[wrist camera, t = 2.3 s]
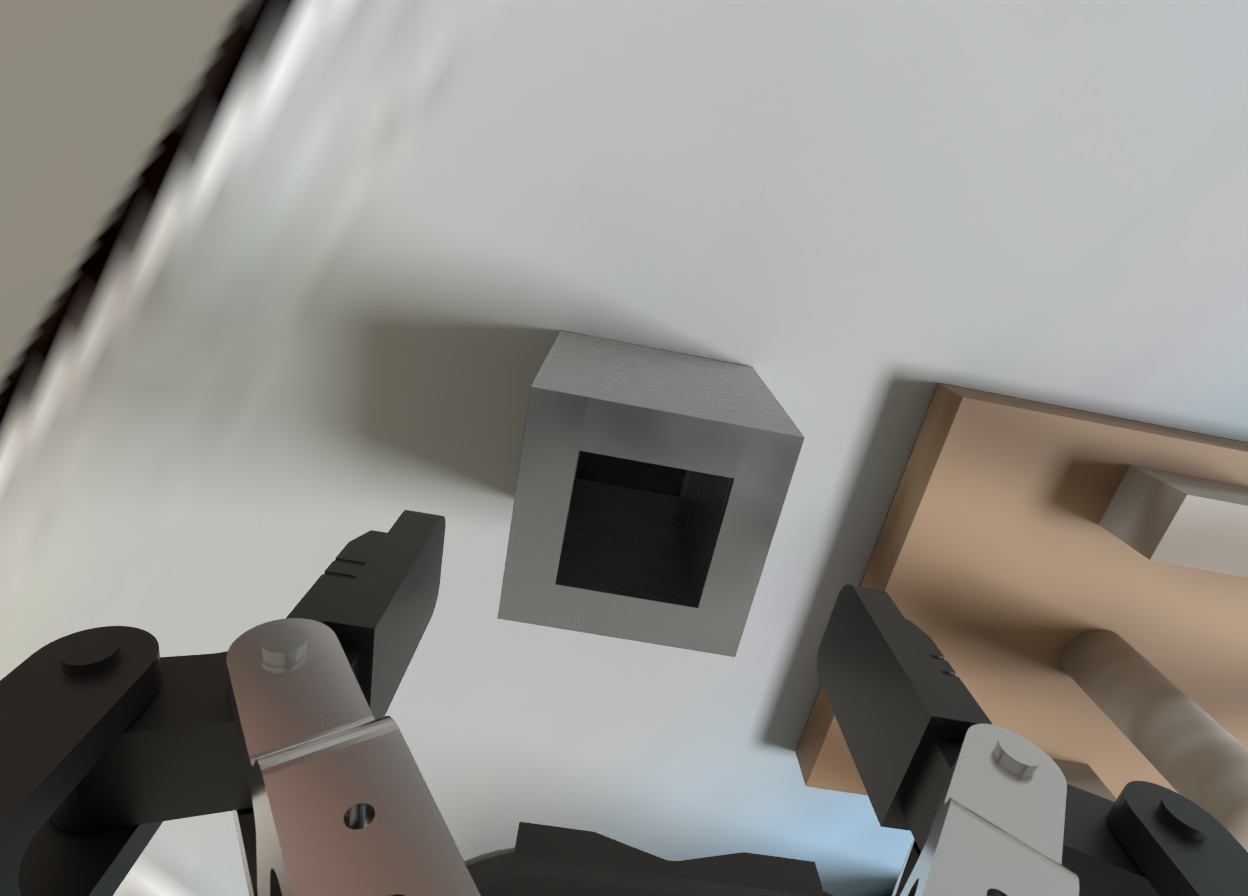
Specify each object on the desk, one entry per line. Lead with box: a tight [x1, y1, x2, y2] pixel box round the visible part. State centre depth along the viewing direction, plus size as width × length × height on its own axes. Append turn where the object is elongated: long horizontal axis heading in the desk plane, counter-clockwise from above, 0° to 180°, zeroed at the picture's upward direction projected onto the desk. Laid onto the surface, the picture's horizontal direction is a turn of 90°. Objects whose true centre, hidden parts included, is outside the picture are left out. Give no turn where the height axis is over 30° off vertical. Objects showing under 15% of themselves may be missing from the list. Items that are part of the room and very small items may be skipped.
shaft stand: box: [796, 383, 1248, 851], centre depth 19 cm, size 15×15×8 cm
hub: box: [498, 331, 804, 657], centre depth 17 cm, size 6×6×6 cm
